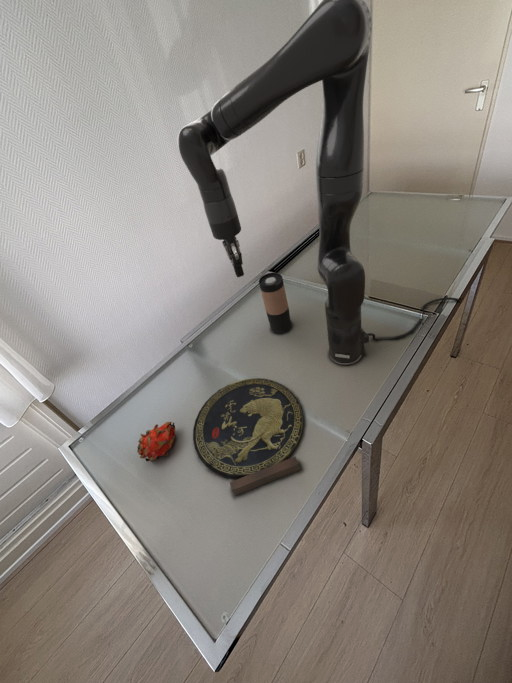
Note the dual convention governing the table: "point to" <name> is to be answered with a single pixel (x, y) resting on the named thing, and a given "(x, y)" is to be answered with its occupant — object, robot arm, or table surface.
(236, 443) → the decorative plate
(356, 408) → the table surface
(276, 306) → the travel mug
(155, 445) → the dragon fruit
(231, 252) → the robot arm
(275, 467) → the rail
